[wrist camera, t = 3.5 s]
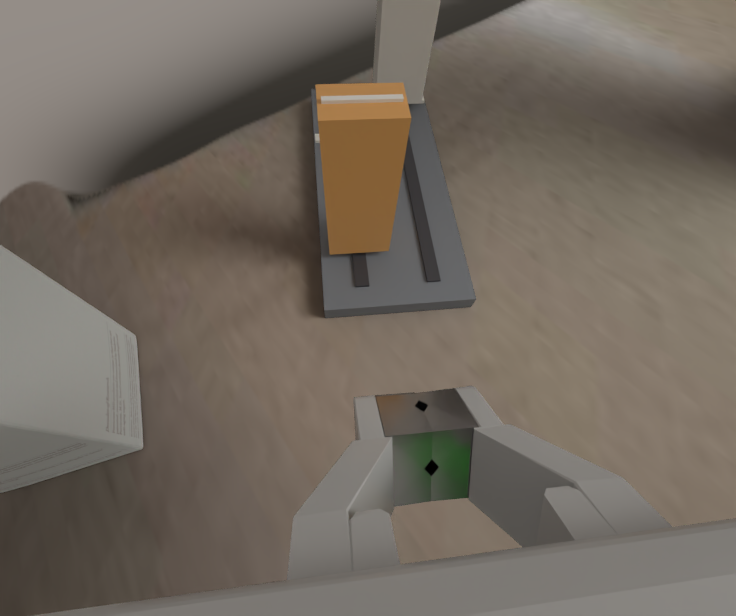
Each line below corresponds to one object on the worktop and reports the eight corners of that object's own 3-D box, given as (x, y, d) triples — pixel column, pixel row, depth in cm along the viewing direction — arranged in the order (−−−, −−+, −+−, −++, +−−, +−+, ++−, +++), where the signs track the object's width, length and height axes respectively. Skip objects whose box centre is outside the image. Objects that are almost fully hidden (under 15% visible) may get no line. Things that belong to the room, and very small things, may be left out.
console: (312, 101, 34) (310, 86, 32) (418, 98, 35) (421, 83, 33) (325, 318, 24) (323, 308, 23) (470, 306, 25) (477, 297, 24)
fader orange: (327, 225, 25) (315, 80, 16) (384, 222, 26) (403, 78, 17) (329, 254, 24) (317, 117, 15) (388, 251, 25) (411, 114, 16)
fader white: (372, 86, 32) (381, -72, 23) (416, 85, 33) (443, -71, 23) (375, 104, 31) (386, -53, 22) (421, 103, 31) (450, -53, 22)
